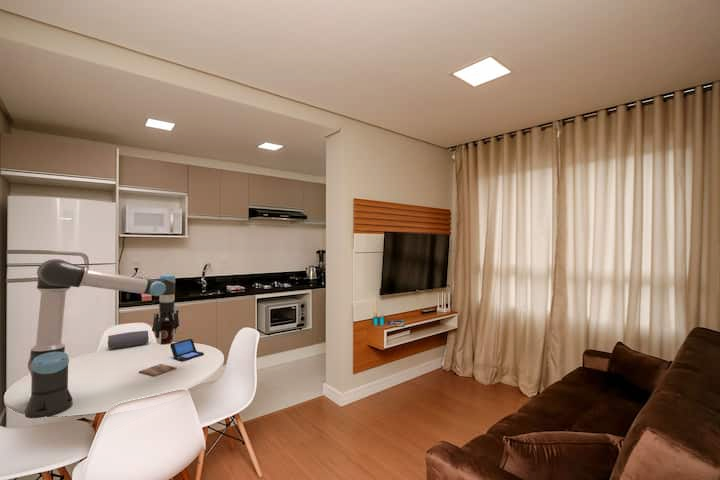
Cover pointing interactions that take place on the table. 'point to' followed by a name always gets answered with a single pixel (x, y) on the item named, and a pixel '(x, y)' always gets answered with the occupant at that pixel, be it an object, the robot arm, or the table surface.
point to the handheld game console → (184, 350)
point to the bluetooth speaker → (127, 339)
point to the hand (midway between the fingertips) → (165, 341)
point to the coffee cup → (167, 332)
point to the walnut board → (157, 370)
